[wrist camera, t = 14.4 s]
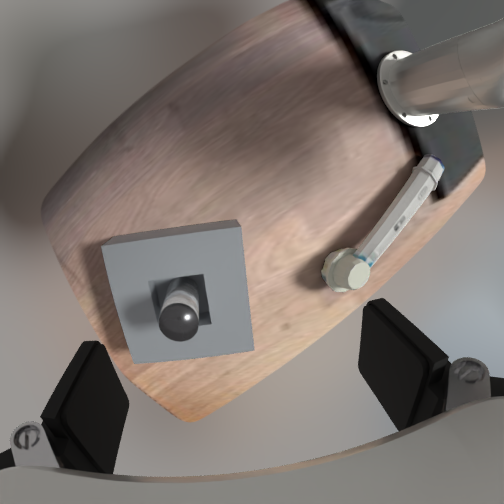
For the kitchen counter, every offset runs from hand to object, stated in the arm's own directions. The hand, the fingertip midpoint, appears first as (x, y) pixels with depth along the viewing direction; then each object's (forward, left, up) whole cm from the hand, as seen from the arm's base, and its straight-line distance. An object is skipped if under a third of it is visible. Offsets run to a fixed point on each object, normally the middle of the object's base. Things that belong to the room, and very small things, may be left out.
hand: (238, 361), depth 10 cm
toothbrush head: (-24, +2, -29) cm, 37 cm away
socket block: (+5, +8, -28) cm, 30 cm away
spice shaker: (+5, +8, -27) cm, 28 cm away
